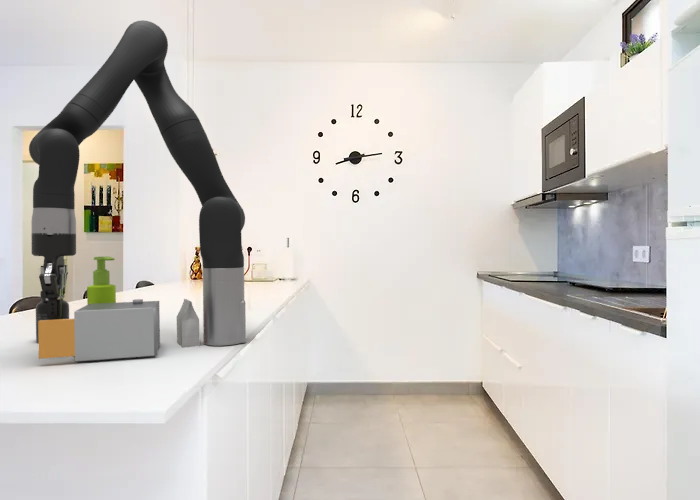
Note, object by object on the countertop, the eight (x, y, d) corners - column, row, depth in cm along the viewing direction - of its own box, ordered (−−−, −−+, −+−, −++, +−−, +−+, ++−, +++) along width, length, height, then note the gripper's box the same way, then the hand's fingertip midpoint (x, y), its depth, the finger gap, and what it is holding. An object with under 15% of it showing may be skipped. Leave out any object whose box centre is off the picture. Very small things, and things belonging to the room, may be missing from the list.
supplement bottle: (75, 339, 114) (74, 289, 114) (44, 344, 108) (43, 292, 108) (60, 336, 118) (60, 288, 117) (30, 341, 112) (29, 290, 112)
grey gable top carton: (182, 347, 104) (181, 302, 104) (176, 342, 110) (176, 299, 109) (199, 345, 106) (198, 301, 105) (193, 340, 111) (192, 298, 111)
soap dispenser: (99, 345, 106) (98, 257, 106) (82, 342, 110) (81, 256, 110) (124, 341, 111) (122, 256, 111) (107, 338, 115) (106, 256, 115)
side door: (157, 354, 96) (157, 307, 95) (157, 355, 94) (156, 307, 94) (41, 362, 90) (40, 312, 89) (38, 363, 88) (38, 313, 88)
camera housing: (160, 343, 108) (159, 296, 108) (154, 356, 96) (154, 303, 96) (92, 348, 104) (91, 299, 104) (77, 361, 92) (76, 306, 92)
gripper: (40, 232, 99) (40, 315, 99) (22, 230, 86) (22, 325, 87) (81, 232, 101) (81, 313, 102) (69, 231, 89) (69, 323, 89)
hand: (54, 318), depth 94 cm, fingers closed
